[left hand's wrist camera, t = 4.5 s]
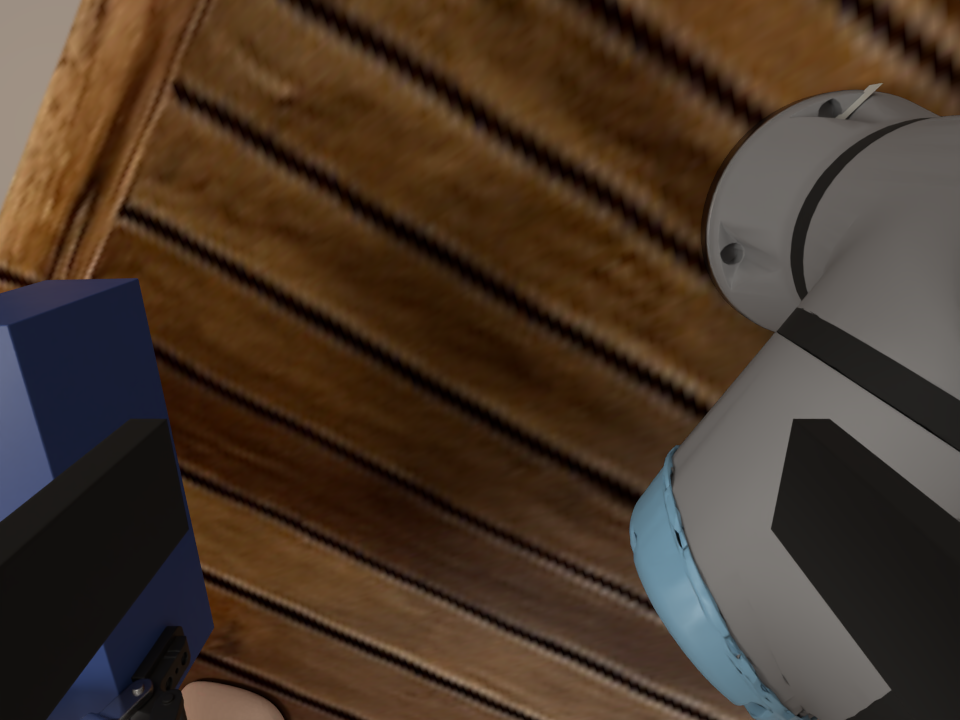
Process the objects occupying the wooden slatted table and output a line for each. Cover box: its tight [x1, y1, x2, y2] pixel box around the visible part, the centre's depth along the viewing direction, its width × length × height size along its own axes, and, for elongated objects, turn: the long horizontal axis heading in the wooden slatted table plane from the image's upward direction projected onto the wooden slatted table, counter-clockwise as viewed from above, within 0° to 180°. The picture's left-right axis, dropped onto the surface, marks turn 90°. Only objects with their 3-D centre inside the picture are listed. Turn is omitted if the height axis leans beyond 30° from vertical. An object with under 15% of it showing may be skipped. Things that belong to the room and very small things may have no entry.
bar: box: [0, 278, 214, 720], centre depth 30 cm, size 23×5×9 cm, turn 1°
